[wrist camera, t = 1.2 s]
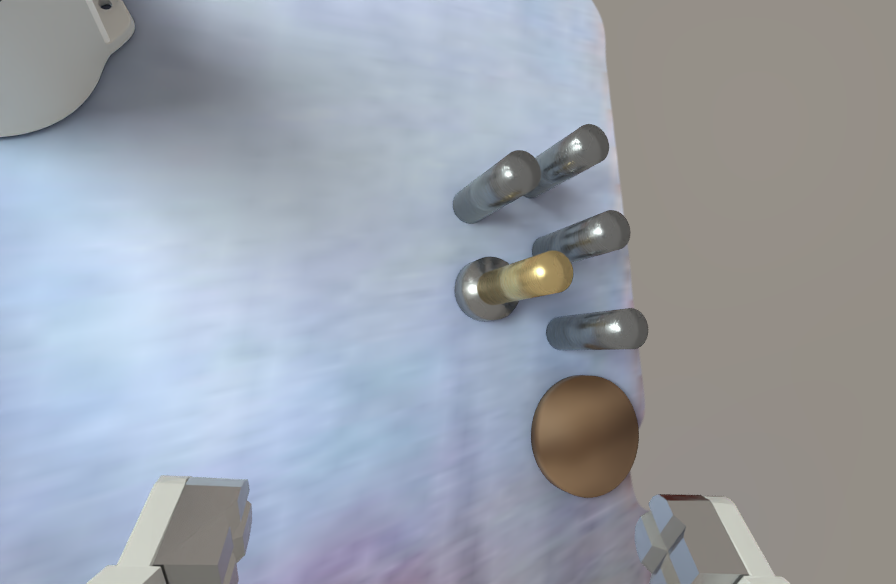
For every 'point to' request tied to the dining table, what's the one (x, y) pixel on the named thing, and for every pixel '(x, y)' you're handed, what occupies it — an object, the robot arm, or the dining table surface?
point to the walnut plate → (585, 435)
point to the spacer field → (562, 231)
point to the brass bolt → (509, 283)
